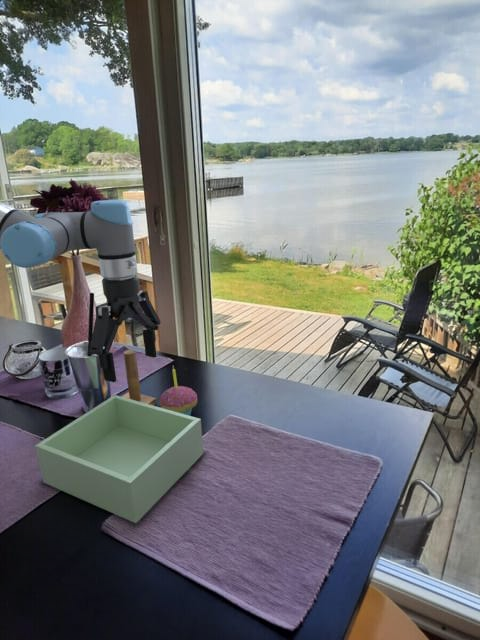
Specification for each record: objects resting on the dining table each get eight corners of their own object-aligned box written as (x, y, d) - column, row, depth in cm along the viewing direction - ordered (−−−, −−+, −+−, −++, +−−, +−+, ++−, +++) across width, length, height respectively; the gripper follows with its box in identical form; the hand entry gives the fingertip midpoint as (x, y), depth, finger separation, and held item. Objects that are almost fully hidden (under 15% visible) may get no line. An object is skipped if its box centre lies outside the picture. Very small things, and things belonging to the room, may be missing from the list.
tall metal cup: (111, 421, 99) (92, 293, 89) (65, 418, 101) (41, 293, 91) (130, 397, 109) (115, 280, 99) (88, 395, 111) (68, 279, 101)
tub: (43, 482, 81) (35, 445, 78) (119, 426, 97) (114, 394, 94) (136, 523, 71) (130, 483, 68) (203, 453, 87) (200, 418, 84)
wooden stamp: (116, 411, 103) (108, 353, 98) (131, 401, 107) (123, 345, 102) (143, 419, 100) (135, 359, 94) (157, 409, 104) (150, 350, 99)
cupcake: (156, 413, 102) (151, 366, 98) (190, 403, 105) (187, 358, 101) (168, 431, 95) (163, 382, 91) (204, 420, 98) (201, 372, 94)
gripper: (87, 293, 81) (104, 396, 88) (170, 265, 101) (177, 349, 108) (59, 289, 84) (77, 388, 91) (144, 262, 104) (153, 345, 112)
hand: (132, 367), depth 100 cm, fingers open, 13 cm apart
